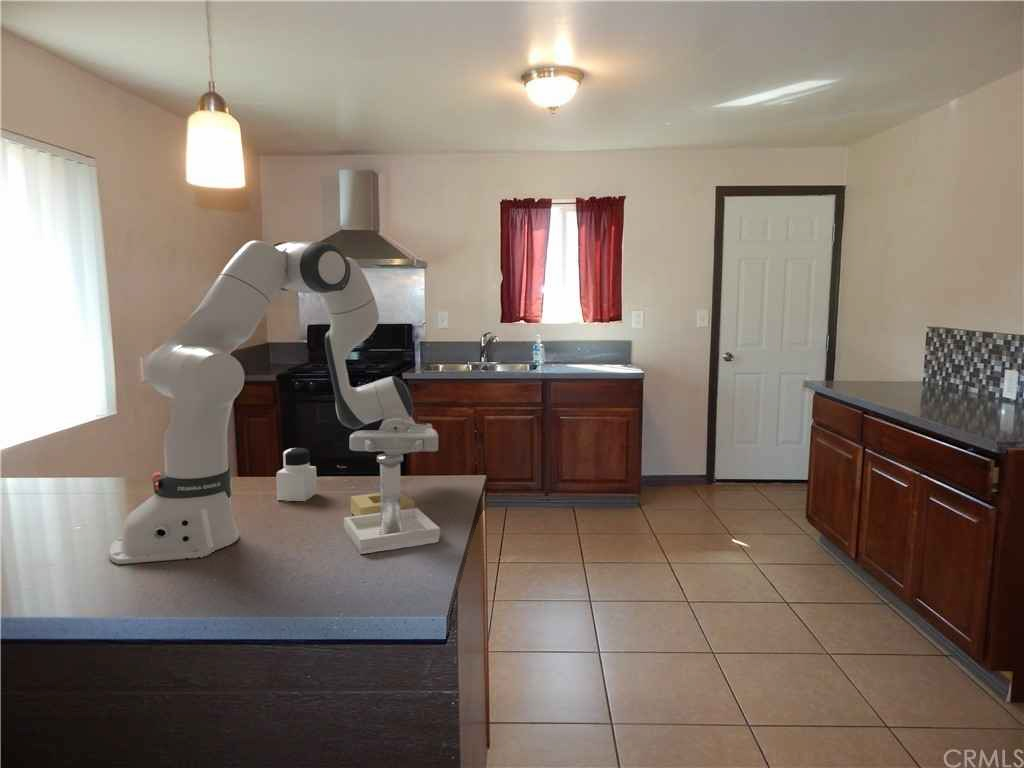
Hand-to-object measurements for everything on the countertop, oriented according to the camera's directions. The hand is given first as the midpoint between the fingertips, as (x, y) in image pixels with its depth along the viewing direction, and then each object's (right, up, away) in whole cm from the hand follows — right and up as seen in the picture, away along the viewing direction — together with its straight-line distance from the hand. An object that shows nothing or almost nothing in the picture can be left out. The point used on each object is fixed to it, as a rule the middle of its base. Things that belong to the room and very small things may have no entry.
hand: (392, 448), depth 144 cm
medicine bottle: (-26, -14, +15) cm, 33 cm away
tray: (+2, -17, -10) cm, 20 cm away
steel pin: (+2, -16, -11) cm, 19 cm away
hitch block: (-3, -15, +2) cm, 16 cm away
